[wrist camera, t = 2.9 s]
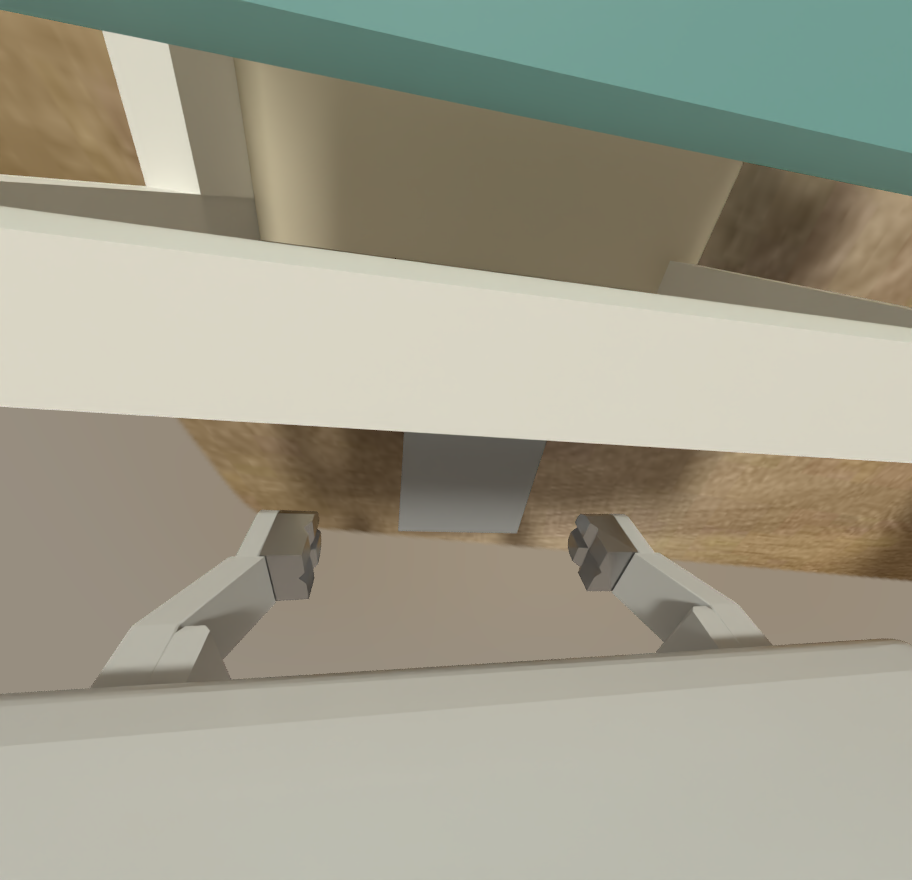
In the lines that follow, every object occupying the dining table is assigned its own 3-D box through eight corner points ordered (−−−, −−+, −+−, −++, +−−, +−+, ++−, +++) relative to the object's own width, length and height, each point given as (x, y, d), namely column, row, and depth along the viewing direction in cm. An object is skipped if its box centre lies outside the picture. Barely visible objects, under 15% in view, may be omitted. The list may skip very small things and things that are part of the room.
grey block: (508, 365, 16) (548, 434, 11) (490, 446, 19) (516, 533, 14) (408, 355, 16) (404, 425, 11) (403, 441, 18) (398, 530, 13)
